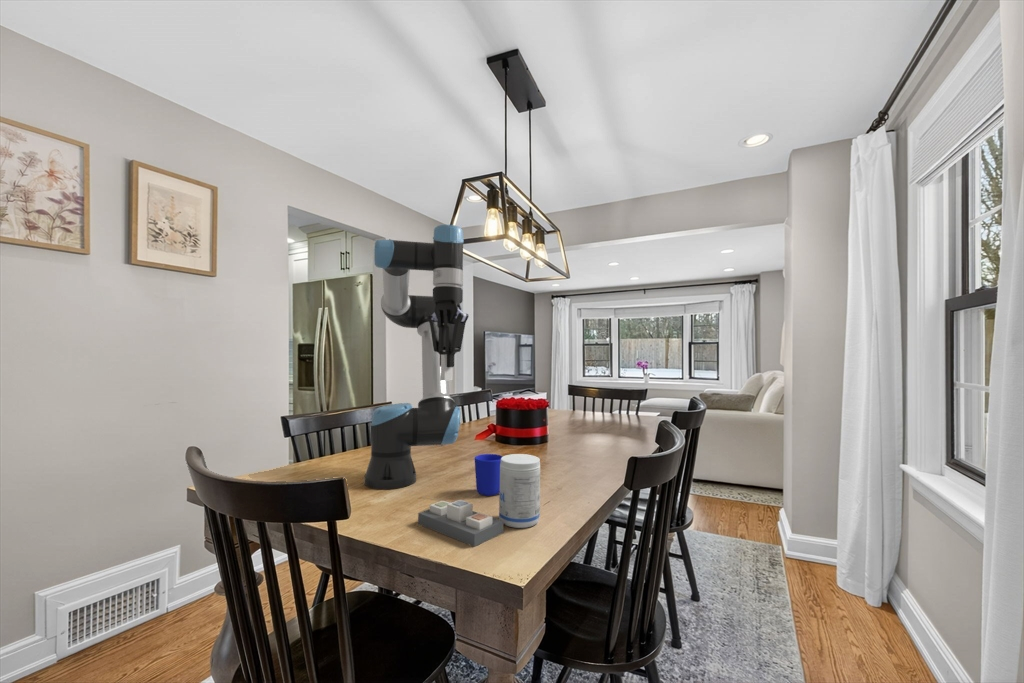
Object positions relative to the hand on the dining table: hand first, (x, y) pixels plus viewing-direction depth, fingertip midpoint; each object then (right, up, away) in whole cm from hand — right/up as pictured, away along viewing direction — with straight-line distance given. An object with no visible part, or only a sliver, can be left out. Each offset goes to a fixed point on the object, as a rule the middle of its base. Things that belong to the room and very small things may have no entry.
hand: (446, 380), depth 109 cm
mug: (+12, -33, +12) cm, 37 cm away
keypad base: (+5, -32, -12) cm, 35 cm away
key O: (+9, -31, -16) cm, 36 cm away
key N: (0, -32, -8) cm, 33 cm away
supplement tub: (+18, -33, -8) cm, 38 cm away
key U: (+5, -30, -12) cm, 33 cm away
